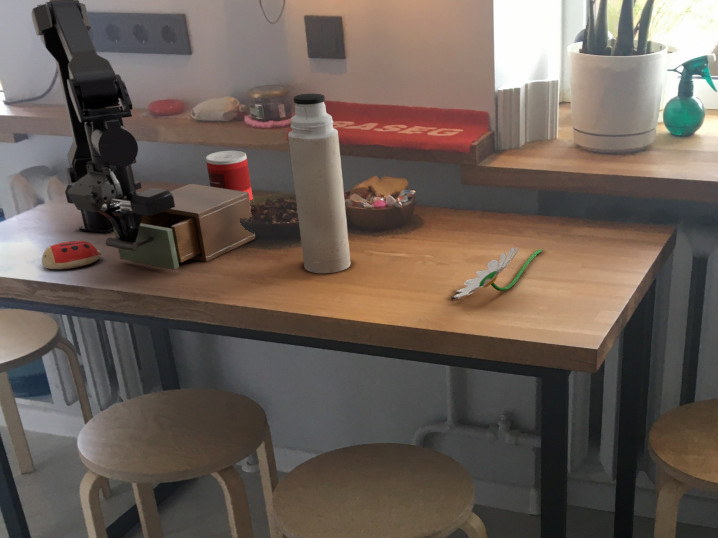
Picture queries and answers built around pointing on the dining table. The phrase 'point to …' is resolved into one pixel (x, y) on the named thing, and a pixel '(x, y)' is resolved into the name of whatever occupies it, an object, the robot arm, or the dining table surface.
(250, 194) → the canned food
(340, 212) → the thermos bottle
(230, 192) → the cabinet
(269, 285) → the dining table surface
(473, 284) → the flower
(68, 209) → the dining table surface
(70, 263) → the ladybug figurine
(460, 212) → the dining table surface
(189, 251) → the drawer
